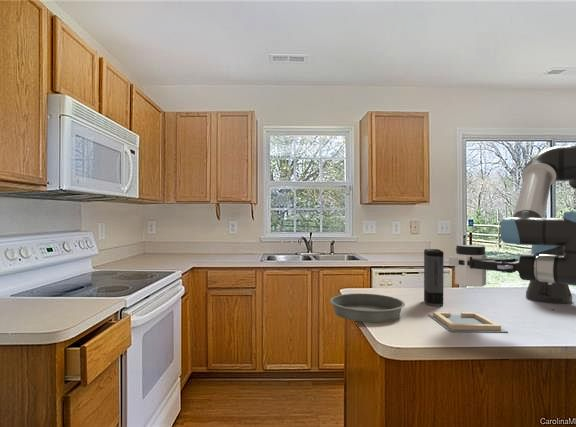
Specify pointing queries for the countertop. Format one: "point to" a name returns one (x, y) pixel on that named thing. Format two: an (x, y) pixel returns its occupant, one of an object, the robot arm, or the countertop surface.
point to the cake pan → (367, 307)
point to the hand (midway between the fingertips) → (452, 260)
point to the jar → (464, 272)
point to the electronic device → (433, 277)
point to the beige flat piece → (467, 322)
